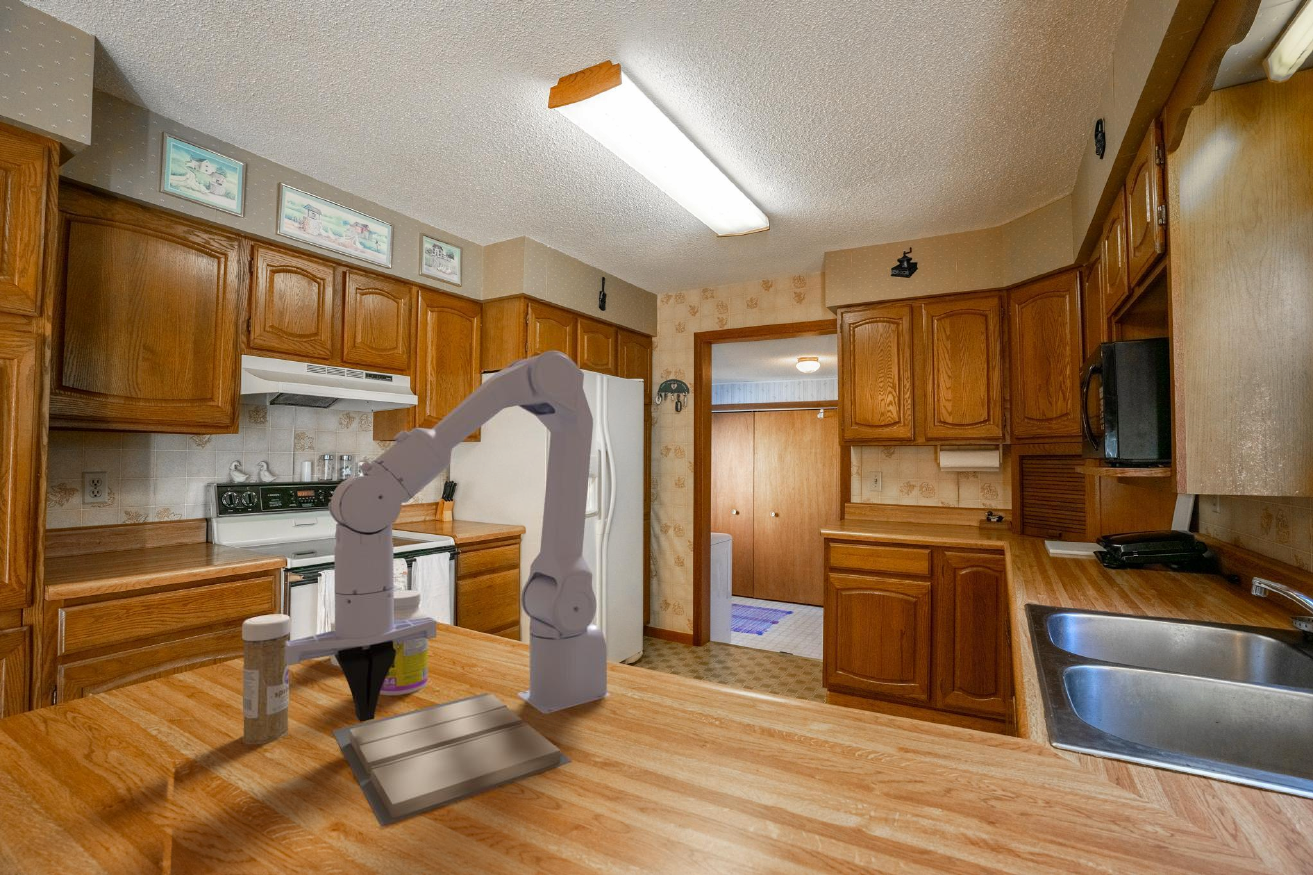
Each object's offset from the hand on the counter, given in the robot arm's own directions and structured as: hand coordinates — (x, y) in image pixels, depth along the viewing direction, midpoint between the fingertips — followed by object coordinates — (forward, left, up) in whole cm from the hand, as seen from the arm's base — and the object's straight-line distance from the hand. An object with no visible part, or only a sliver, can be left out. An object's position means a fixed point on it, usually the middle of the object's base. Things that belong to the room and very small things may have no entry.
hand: (365, 717), depth 67 cm
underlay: (-7, +5, -4) cm, 9 cm away
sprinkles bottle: (+8, -10, -4) cm, 13 cm away
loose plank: (-7, +2, -3) cm, 8 cm away
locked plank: (-7, +12, -3) cm, 14 cm away
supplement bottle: (-8, -16, -4) cm, 18 cm away
